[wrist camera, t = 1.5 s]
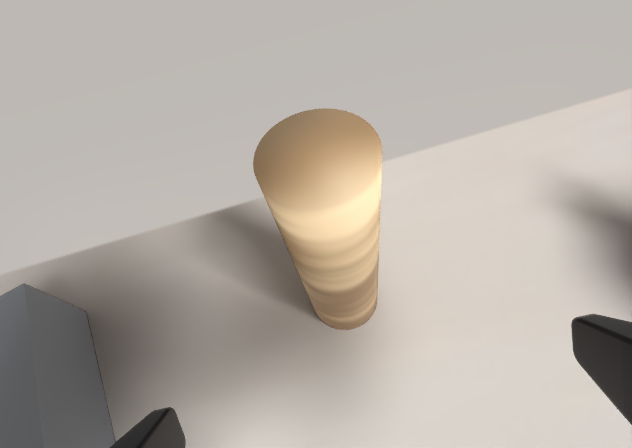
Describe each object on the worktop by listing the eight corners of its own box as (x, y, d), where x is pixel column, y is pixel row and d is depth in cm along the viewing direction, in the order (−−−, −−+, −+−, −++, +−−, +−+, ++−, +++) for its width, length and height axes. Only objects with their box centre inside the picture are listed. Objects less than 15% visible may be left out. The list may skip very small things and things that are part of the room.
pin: (390, 305, 21) (410, 161, 10) (335, 343, 20) (292, 231, 9) (352, 256, 23) (335, 92, 12) (301, 289, 22) (233, 145, 12)
